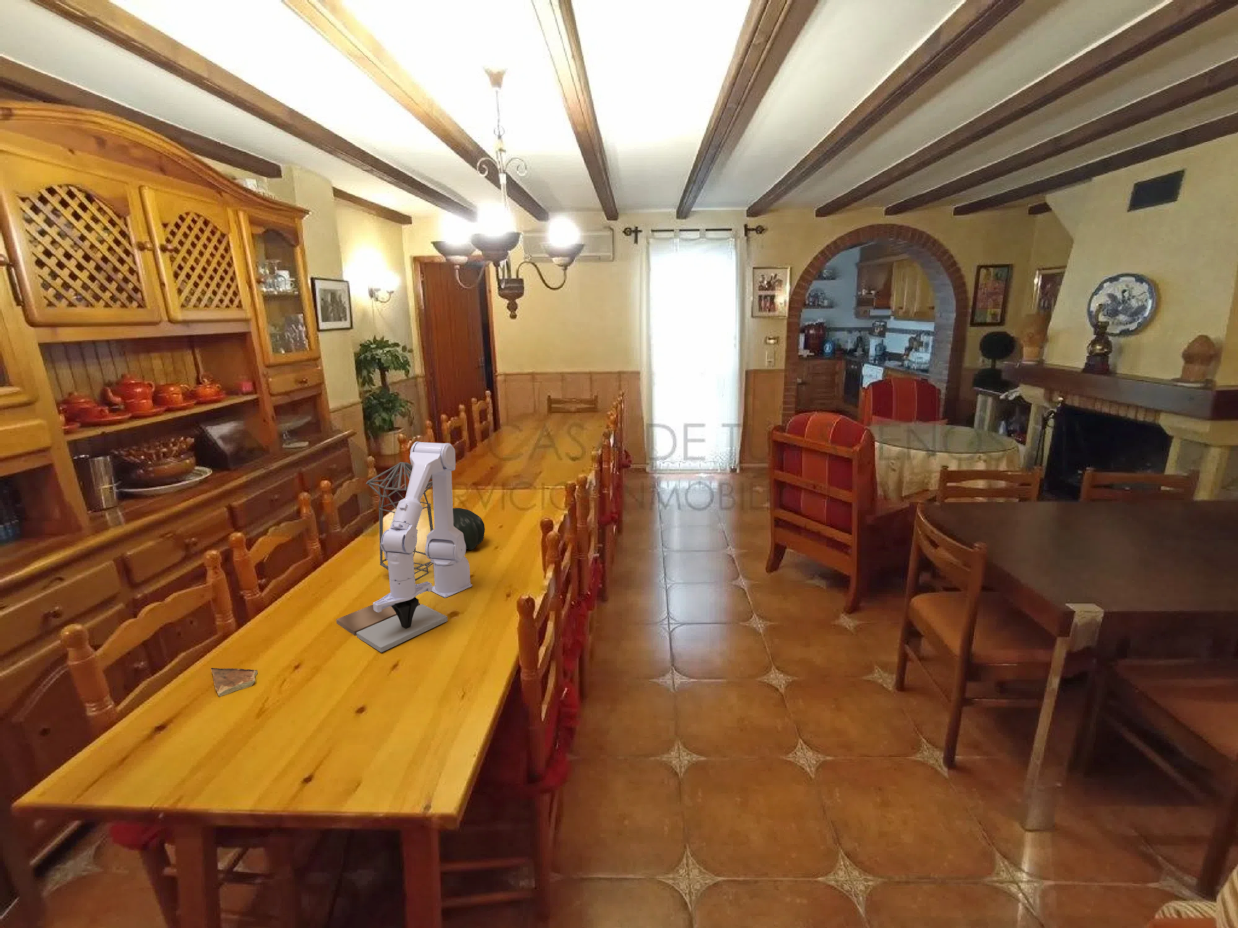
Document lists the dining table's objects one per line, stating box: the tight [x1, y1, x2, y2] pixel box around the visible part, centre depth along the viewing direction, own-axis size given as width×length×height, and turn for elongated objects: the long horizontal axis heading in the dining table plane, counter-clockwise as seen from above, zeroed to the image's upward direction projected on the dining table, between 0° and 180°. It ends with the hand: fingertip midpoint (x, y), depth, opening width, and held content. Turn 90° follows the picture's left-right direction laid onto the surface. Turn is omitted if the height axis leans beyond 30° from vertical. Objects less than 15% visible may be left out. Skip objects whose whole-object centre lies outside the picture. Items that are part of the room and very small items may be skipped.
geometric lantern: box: [365, 461, 434, 581], centre depth 163 cm, size 16×16×35 cm
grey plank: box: [356, 603, 448, 653], centre depth 138 cm, size 18×11×1 cm, turn 142°
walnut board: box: [335, 602, 421, 637], centre depth 144 cm, size 18×9×1 cm, turn 142°
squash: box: [453, 507, 486, 551], centre depth 187 cm, size 14×15×15 cm
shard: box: [210, 667, 258, 697], centre depth 118 cm, size 11×8×2 cm
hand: (406, 626), depth 136 cm, fingers closed, pressing on grey plank
